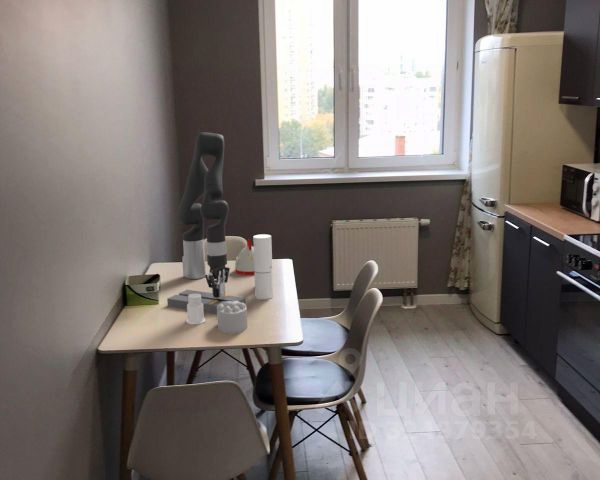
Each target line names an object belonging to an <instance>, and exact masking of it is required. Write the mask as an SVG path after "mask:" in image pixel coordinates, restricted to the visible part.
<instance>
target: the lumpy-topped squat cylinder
mask: <svg viewBox="0 0 600 480" xmlns="http://www.w3.org/2000/svg"><path fill="white" fill-rule="evenodd" d="M216 316H217V329H218V330H217V331H219V332H221V333H224V334H228V335H229V334H232V335H233V334H239V333H242V332H244V331H246V330H247V329H248V311H247V304H246V305H245V304H244V303H242V302H239V301H225V302H223V303H222V304H219V305H218V306H217V313H216Z"/></svg>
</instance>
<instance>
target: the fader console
mask: <svg viewBox="0 0 600 480" xmlns="http://www.w3.org/2000/svg"><path fill="white" fill-rule="evenodd" d="M195 293H196V294H201V303H203V312H205V313H211V314H217V306H218V305H219V304H222V303H223V302H225V301H239V302H242V303H244V304H245V305H246V306H247V298H246V297H244V296H236V295H229V294H225V297H224V298H222V301H218V300H217V298H212V292H207V291H200V290H192V289H185V290H183V291H181V292H179V293H178V294H174V295H172V296H170V297H167V299H166V301H167V307H174V308H180V309H186V310H187V304H188V303H189V301H188V295H190V294H195Z"/></svg>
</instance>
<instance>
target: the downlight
mask: <svg viewBox="0 0 600 480" xmlns="http://www.w3.org/2000/svg"><path fill="white" fill-rule="evenodd" d="M188 301H189V303H188V304H187V309H186V312H187V313H186V314H187V319H186V320H185V321H186V323H187V324H189V325H200V324H203V323H205V322H206V318H205V316H204V315H205V313H204V312H205V311H203V303H201V294H196V293H195V294H190V295H188Z"/></svg>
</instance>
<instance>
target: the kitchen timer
mask: <svg viewBox="0 0 600 480" xmlns="http://www.w3.org/2000/svg"><path fill="white" fill-rule="evenodd" d="M234 272H235V274H237V275H242V276H255V269H254V246H253V245H252V240H251V239H250V238H248V239H247V241H246V246H244V247H243V248H242V249H241V251H240V252H239V253H238V255H237V256H236V258H235V267H234Z"/></svg>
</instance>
